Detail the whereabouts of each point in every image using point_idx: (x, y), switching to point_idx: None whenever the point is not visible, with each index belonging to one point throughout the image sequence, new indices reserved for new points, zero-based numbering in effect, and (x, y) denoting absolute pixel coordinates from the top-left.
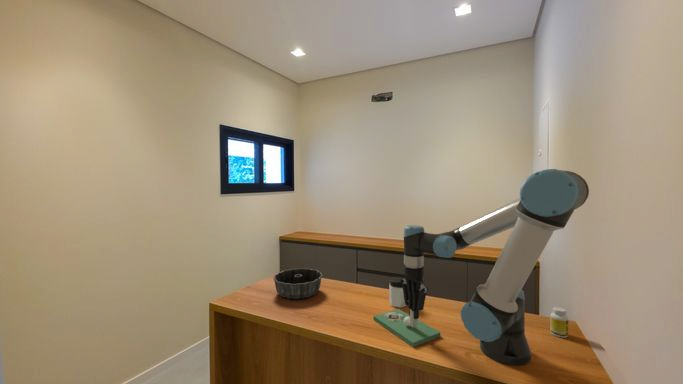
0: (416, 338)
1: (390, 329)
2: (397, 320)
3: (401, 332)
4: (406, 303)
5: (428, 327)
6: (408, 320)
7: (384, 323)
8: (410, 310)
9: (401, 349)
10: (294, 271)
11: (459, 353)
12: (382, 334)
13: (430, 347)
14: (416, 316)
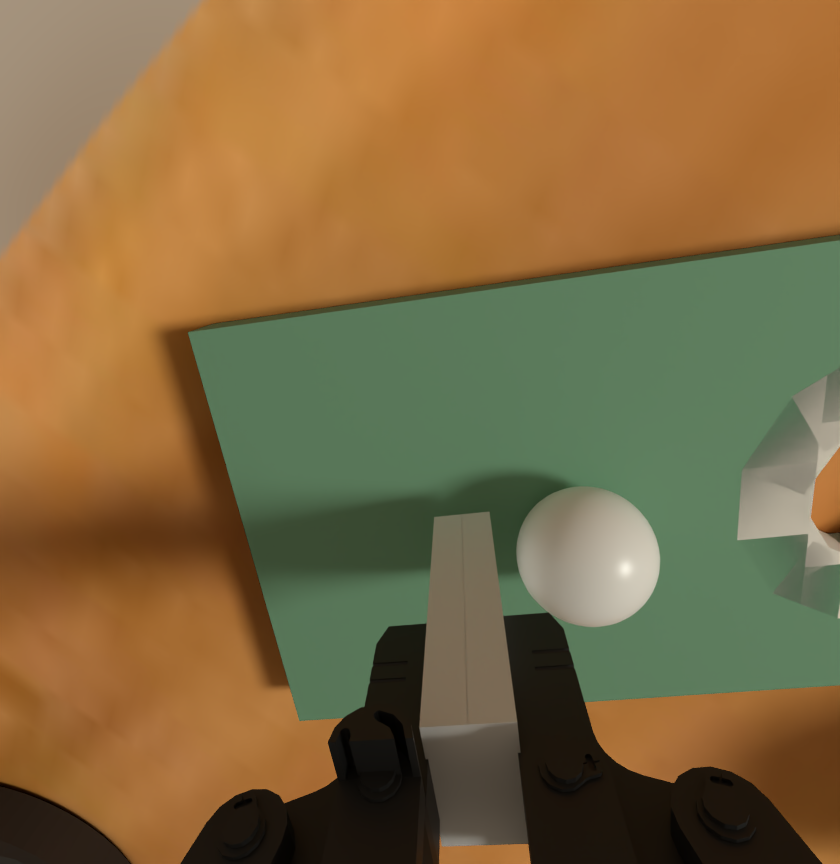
0: (265, 431)
1: (653, 263)
2: (774, 478)
3: (465, 339)
4: (705, 826)
5: None
6: (547, 551)
7: (827, 241)
8: (494, 703)
9: (206, 153)
10: None
11: (26, 644)
12: (639, 97)
13: (164, 490)
14: (376, 676)
